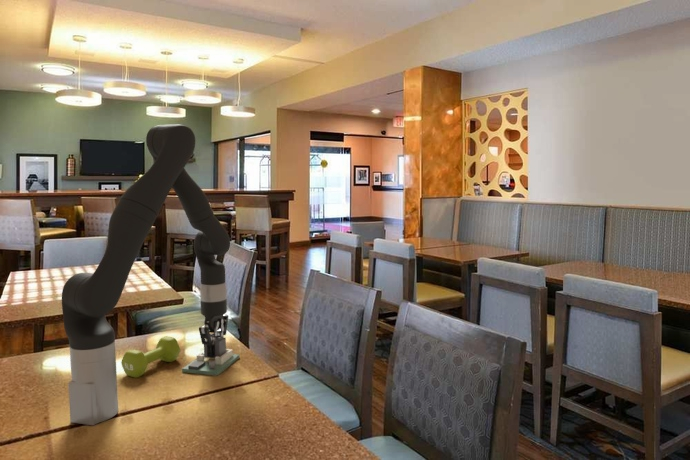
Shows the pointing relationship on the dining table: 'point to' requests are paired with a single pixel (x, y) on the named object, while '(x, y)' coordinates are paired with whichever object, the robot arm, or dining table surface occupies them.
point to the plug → (217, 347)
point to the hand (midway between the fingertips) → (215, 353)
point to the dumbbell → (150, 356)
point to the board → (214, 371)
